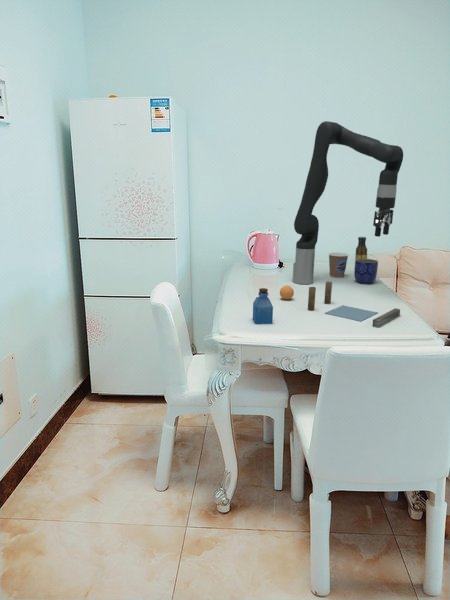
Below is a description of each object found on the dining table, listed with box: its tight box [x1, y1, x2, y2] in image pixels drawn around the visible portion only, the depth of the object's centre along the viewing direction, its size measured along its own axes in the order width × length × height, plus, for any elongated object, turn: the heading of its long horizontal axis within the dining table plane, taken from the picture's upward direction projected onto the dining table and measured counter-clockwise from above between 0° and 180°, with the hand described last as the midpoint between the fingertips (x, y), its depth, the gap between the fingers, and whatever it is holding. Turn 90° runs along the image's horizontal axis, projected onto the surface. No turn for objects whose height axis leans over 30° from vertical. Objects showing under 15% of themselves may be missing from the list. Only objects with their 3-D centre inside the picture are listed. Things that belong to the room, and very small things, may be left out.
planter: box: [353, 258, 379, 285], centre depth 230 cm, size 11×11×11 cm
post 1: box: [307, 286, 317, 311], centre depth 182 cm, size 3×3×9 cm
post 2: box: [323, 281, 333, 305], centre depth 191 cm, size 3×3×9 cm
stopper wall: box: [372, 308, 401, 329], centre depth 170 cm, size 2×20×2 cm, turn 139°
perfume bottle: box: [252, 287, 274, 325], centre depth 166 cm, size 6×6×12 cm
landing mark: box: [324, 304, 379, 323], centre depth 179 cm, size 15×15×1 cm
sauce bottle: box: [354, 236, 368, 261], centre depth 251 cm, size 7×6×20 cm
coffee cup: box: [328, 252, 349, 279], centre depth 243 cm, size 10×10×12 cm
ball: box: [279, 285, 295, 301], centre depth 197 cm, size 6×6×6 cm
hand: (381, 235), depth 195 cm, fingers open, 8 cm apart
